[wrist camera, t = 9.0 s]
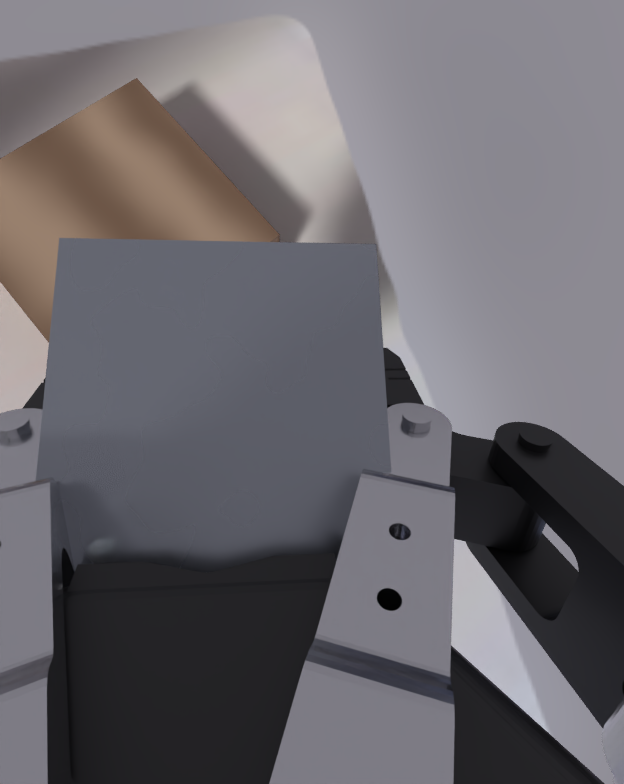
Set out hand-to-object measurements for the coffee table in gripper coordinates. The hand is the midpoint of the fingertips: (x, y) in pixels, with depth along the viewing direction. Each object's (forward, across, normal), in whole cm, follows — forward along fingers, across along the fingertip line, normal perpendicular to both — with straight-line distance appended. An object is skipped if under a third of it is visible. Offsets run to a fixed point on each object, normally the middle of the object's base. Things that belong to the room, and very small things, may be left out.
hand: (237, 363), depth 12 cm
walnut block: (+23, +8, +5) cm, 25 cm away
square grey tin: (+2, 0, +4) cm, 5 cm away
